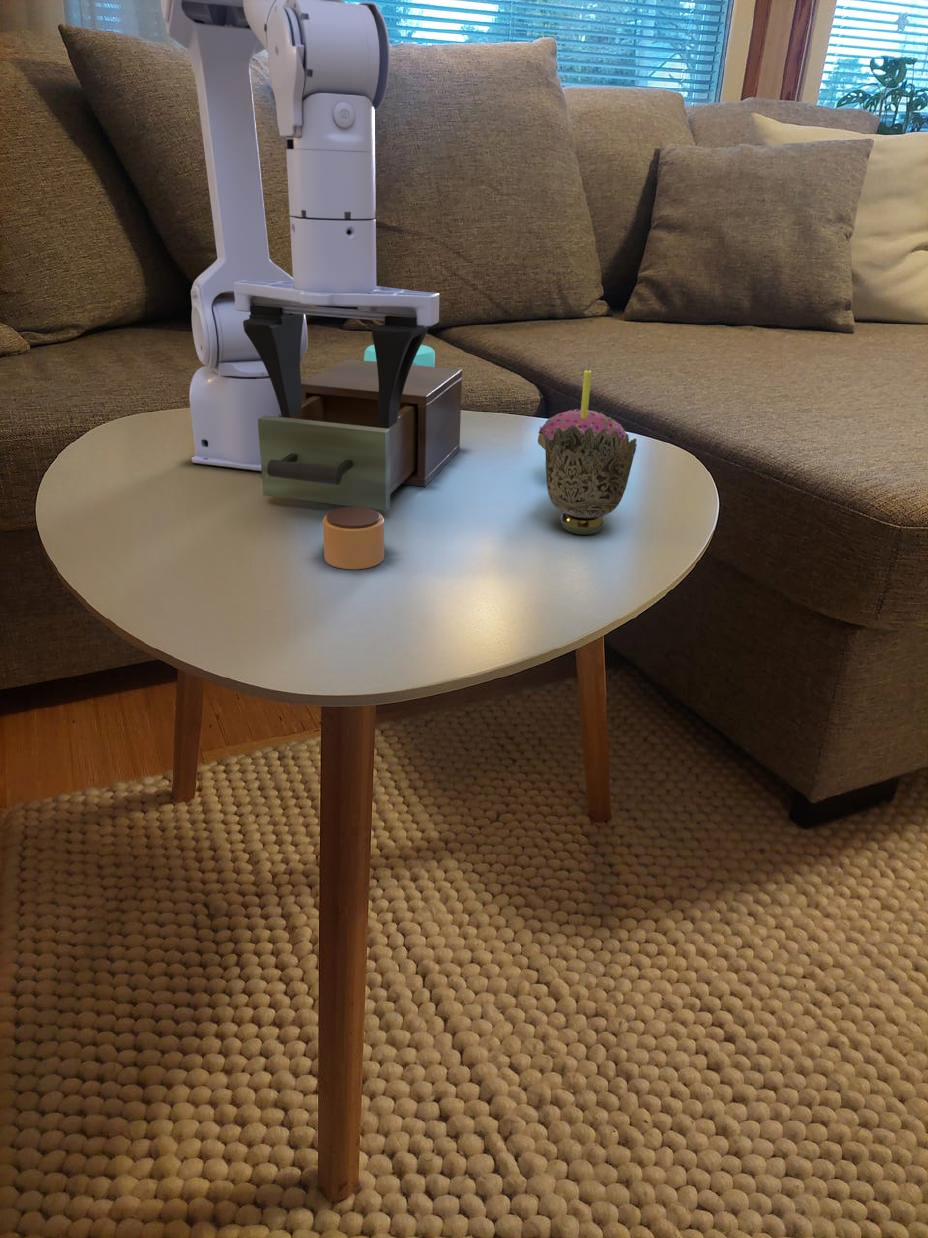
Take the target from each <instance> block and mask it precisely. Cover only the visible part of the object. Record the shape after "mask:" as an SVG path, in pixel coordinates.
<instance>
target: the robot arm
mask: <svg viewBox="0 0 928 1238" xmlns="http://www.w3.org/2000/svg"><path fill="white" fill-rule="evenodd" d="M160 7H161V8H160V9H161V14H162V15H161V16H162V18H163V20H164V22H165V28H166V33H167V36H168V37H170V38H171V39H173V40H174V41H175V42H177V43H179V45H181V46H183V47H184V48H186V50H187V53H188V56H189V60H190V63H191V67H192V71H193V75H194V79H195V85H196V94H197V101H198V109H199V119H200V125H201V127H200V128H201V135H202V142H203V143H202V144H203V151H204V159H205V166H206V167H205V168H206V175H207V184H208V192H209V199H210V208H211V216H212V224H213V233H214V241H215V248H216V250H215V251H216V257H217V259H215V261H214V262H213V263H212V264H211V265H210V266H209V267H207V268H206V269H205V270H204V271H203V272H201V273H200V274H199V275H198V276H197V277H196V279H195V280H194V281H193V283H192V286H191V290H190V297H191V329H192V337H193V342H194V343H193V344H194V348H195V351H196V354H197V357H198V360H199V362H200V363H201V364H202V365H204V366H200V368H198V369H197V370H196V371H195V372H194V374H193V376H192V378H191V381H190V385H189V394H188V395H189V399H188V400H189V409H190V420H191V429H192V436H193V446H194V456H192V457H191V463H194V464H201V465H209V466H215V467H216V466H217V467H223V468H224V467H225V468H231V469H241V470H247V471H248V470H249V471H250V470H251V471H257V472H262V471H261V457H260V444H259V431H258V418H260V417H262V416H263V415H266V416H275V417H279V414H281V415H282V417H286V418H291V417H292V416H294V415H296V414H298V413H300V412H301V408H302V388H301V382H302V376H301V362H302V360H303V358H305V355H306V353H307V350H308V342H309V337H308V336H309V335H308V334H309V333H308V325H307V318H306V316H318V317H320V316H321V317H332V318H333V317H334V318H344V319H356V320H357V319H358V320H370V321H380V322H381V321H383V322H384V324H381V325H378V326H376V327H374V328H372V329H371V337H372V342H373V345H374V347H375V354H376V361H377V369H378V381H379V394H378V419H379V427H380V428H390V427H391V426H393V425H394V424H395V423H396V422H397V419H398V412H399V406H400V402H401V397H402V393H403V390H404V386H405V383H406V380H407V377H408V374H409V371H410V368H411V366H412V363H413V361H414V358H415V356H416V354H417V352H418V349H419V347H420V345H422V343H423V341H424V340H425V338H426V335H427V333H428V329H429V327H432V326H434V325H436V324H438V323H439V322H440V293H439V292H430V291H429V292H428V291H419V290H418V291H417V290H410V289H402V288H396V287H395V288H394V287H386V286H378V285H377V221H376V220H377V219H376V218H377V216H376V215H377V213H376V212H377V209H376V207H377V205H376V197H377V196H376V195H377V194H376V120H375V115H376V113H375V112H376V111H378V109H380V108H381V106H382V104H383V103H384V101H385V98H386V94H387V90H388V86H389V81H390V74H391V73H390V71H391V43H390V35H389V31H388V30H389V29H388V26H387V22H386V20H385V17H384V15H383V12H381V11H380V8H379V6H378V5H377V3H376V2H375V1H362V2H360V3H358V4H357V3H348V2H345V0H160ZM262 51H266V52H267V63H268V73H269V79H270V84H271V89H272V92H273V97H274V101H275V107H276V108H275V109H276V121H277V122H276V123H277V128H278V133H279V136H280V137H283V138H285V151H286V152H285V155H286V169H287V170H286V171H287V172H286V173H287V175H286V176H287V190H288V191H287V192H288V194H287V195H288V211H289V227H290V229H289V230H290V246H291V248H290V250H291V267H292V269H291V271H292V276H291V274H289V273H287V272H286V271H285V270H283V269H282V268H281V267H279V266H278V265H277V264H275V263H274V261H272V260H271V258H270V250H269V242H268V241H269V240H268V230H267V222H266V213H265V201H264V194H263V192H264V191H263V183H262V174H261V173H262V172H261V164H260V163H261V162H260V154H259V145H258V143H259V142H258V135H257V134H258V133H257V124H256V115H255V105H254V97H253V96H254V95H253V87H252V85H253V84H252V78H251V77H252V76H251V67H250V66H251V63H252V61H253V58H254V56H256V54H258V53H260V52H262ZM221 294H233V296H234V297H231V298H230V297H229V298H217V297H218V296H219V295H221ZM338 307H339V308H338ZM340 307H356V308H357V309H350V308H340Z"/></svg>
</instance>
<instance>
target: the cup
mask: <svg viewBox="0 0 928 1238" xmlns="http://www.w3.org/2000/svg"><path fill="white" fill-rule="evenodd" d="M583 434H584V435H583ZM626 434H627V435H626V436H625V438H623V439H622V441H621V443H620V438H619V436H618V433H617V432H616V431H613V432H612V434H611V435H610V434H609V432H608V431H607V429H606V428H605V429H603V430H602V431H600V432H599V433H598V435H597V436H596V438H594V435H593V428H592V427H590V428H588V429H587V430H586V431H585V433H582V434H581V433H580V430H578V429H577V428H576V427H575V426H573V425H572V426H570V427H568V428H567V429H566V430H564V431H563V432H562V430H561V429H560V428H556V429H555V430H554V438H553V440H551V439H550V440H549V437H548V436H547V434H546V435H545V449H544V453H545V475H546V476H545V479H546V487H547V493H548V496H549V500H550V501H551V503H552V505H553V506H554V507H555V508H556V510H558V511H560V512H561V515H560V518H559V521H560V523H561V526H562V528H563V529H564V530H566V531H567V532H569V533H571V534H576V535H581V536H582V535H583V536H586V535H587V536H588V535H593V534H596V533H598V532H600V531H601V529H602V528H603V526H604V524H605V519H604V516H607V515H609V514H610V513H612V512H613V511H615V510H616V508H618V506H619V505H620V503H621V502H622V500H623V497H624V495H625V491H626V488H627V485H628V482H629V477H630V474H631V470H632V466H633V461H634V457H635V454H636V450H637V445H638V443H637V438H633V439H630V438H629V437H630V435H629V434H628V433H626Z"/></svg>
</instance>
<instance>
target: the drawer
mask: <svg viewBox="0 0 928 1238" xmlns="http://www.w3.org/2000/svg"><path fill="white" fill-rule="evenodd" d="M418 405H419V404H411V403H401V402H400V406H399V412H398V419H397V422H396V423H395V424H394V425H393V426H391V427H390V428H380V427H379V419H378V400H372V399H362V398H352V397H342V396H333V395H323V394H316V395H314V396H312V397H310V398H309V399H307V400H305V401H303V402H302V408H301V412H300V413H298V414H296V415H294V416H292V417H291V418H286V417H282V415H281V414H279V417H275V416H266V415H263V416H262V417H260V418H258V431H259V444H260V457H261V471H260V472H261V483H262V495H263V496H268V497H277V498H284V499H293V500H299V501H308V502H316V503H323V504H331V505H339V506H345V507H364V508H369V509H372V510H375V511H384V512H386V511H387V510H388V509H389V508H390V507H391V494H393V493H394V492H395V491H396V490H397V489H398V487H400V486H401V485H402V484H401V483H402V482H403V481H405V480H406V479H407V478H408V477H409V476H410V475H411V474H412V473H413V472H414V471H415V470H416V469H417V468H418Z"/></svg>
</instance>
